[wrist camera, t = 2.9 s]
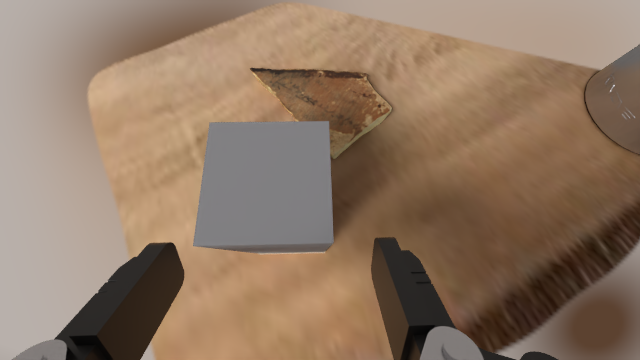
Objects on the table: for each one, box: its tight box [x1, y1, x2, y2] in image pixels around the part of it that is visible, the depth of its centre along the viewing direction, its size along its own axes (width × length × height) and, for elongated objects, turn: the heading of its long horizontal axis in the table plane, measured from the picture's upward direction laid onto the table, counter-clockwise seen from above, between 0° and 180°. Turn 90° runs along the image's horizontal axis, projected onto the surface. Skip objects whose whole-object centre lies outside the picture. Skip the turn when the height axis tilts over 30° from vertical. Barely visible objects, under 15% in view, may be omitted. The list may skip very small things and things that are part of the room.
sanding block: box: [193, 121, 334, 254], centre depth 13 cm, size 5×5×10 cm
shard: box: [250, 68, 392, 159], centre depth 21 cm, size 11×8×2 cm
